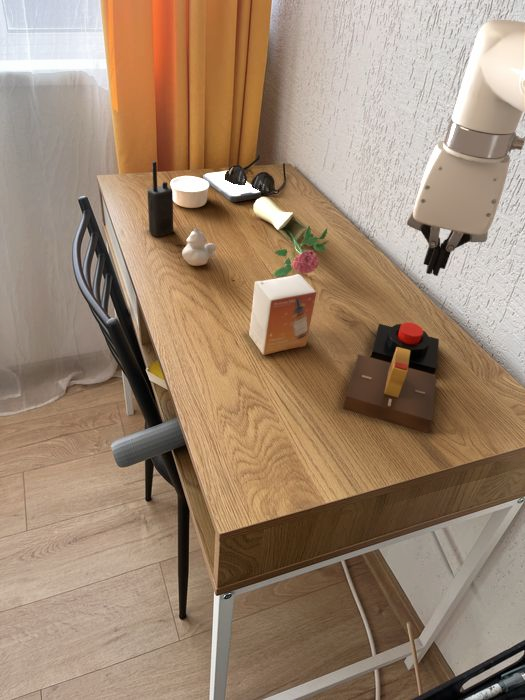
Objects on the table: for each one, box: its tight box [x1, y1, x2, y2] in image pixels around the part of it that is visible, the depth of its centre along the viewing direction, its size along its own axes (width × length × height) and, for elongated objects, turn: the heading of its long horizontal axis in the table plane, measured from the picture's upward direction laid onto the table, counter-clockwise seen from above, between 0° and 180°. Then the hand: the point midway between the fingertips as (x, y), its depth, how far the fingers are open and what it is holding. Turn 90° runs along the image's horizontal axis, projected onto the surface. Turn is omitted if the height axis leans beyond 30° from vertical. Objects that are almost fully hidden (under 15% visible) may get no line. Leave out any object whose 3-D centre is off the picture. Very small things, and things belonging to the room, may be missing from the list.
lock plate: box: [342, 353, 437, 433], centre depth 77 cm, size 12×10×3 cm
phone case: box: [202, 170, 262, 203], centre depth 131 cm, size 9×2×16 cm
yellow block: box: [384, 347, 410, 398], centre depth 74 cm, size 5×2×5 cm, turn 163°
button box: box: [369, 323, 440, 375], centre depth 85 cm, size 10×8×4 cm
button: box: [398, 322, 424, 345], centre depth 83 cm, size 4×4×2 cm
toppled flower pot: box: [253, 196, 329, 277], centre depth 105 cm, size 12×12×35 cm
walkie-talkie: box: [147, 160, 174, 237], centre depth 106 cm, size 5×3×15 cm
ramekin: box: [170, 175, 210, 209], centre depth 122 cm, size 9×9×4 cm
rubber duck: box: [181, 225, 217, 267], centre depth 100 cm, size 5×7×8 cm
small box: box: [248, 273, 317, 356], centre depth 82 cm, size 8×6×10 cm
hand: (432, 270), depth 76 cm, fingers closed
